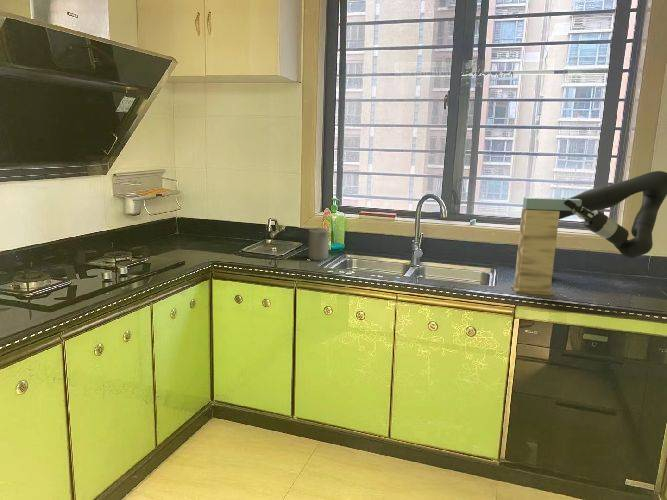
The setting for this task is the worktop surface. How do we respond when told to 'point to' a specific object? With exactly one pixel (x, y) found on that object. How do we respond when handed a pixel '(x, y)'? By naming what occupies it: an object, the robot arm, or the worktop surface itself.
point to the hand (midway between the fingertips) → (563, 200)
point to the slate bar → (548, 203)
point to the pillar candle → (318, 244)
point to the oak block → (536, 251)
